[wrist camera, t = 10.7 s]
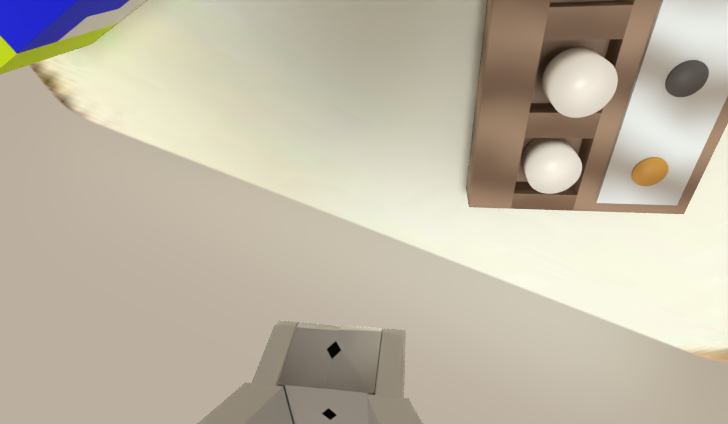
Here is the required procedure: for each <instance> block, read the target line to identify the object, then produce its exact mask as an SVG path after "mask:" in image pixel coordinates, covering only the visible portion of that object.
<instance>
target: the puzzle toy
mask: <svg viewBox="0 0 728 424" xmlns="http://www.w3.org/2000/svg"><path fill="white" fill-rule="evenodd" d="M146 1H147V0H0V74H3V73H6V72H9V71H12V70H15V69H18V68H21V67H24V66H27V65H30V64H33V63H36V62H39V61H42V60H45V59H48V58H51V57H54V56H57V55H60V54H63V53H66V52H69V51H72V50H75V49H78V48H81V47H84V46H87V45H90V44H92V43H93V42H95V41H96V40H97V39H99V38H100V37H101V36H102V35H104V34H105V33H106V32H107V31H109V30H110V29H111V28H113V27H114V26H115V25H116V24H118V23H119V22H120V21H121V20H123V19H124V18H125V17H127V16H128V15H129V14H130V13H132V12H133V11H134V10H135V9H137V8H138V7H139V6H141V5H142V4H143V3H144V2H146Z"/></svg>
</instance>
